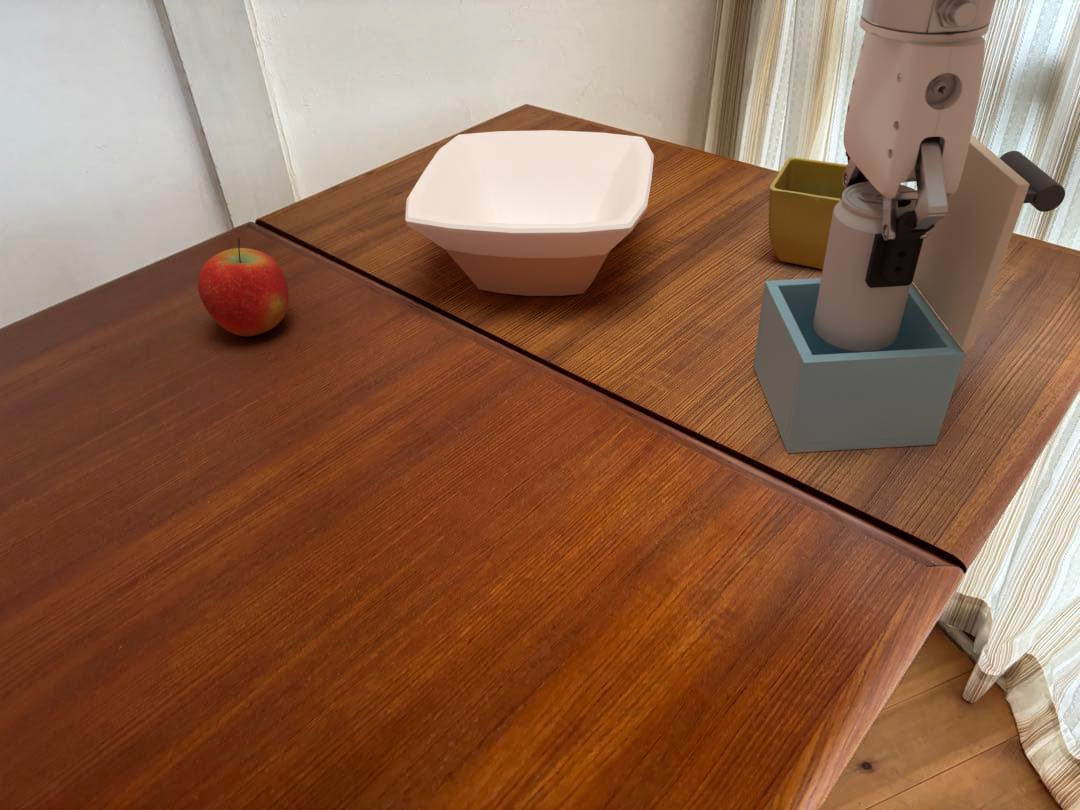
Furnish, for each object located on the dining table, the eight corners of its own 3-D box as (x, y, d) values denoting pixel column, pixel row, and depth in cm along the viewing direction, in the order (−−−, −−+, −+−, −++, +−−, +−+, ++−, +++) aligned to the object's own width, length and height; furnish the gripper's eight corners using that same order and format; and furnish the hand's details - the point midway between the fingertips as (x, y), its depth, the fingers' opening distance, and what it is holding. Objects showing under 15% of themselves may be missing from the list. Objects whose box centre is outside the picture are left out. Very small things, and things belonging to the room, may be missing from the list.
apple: (212, 318, 87) (182, 230, 81) (292, 301, 89) (268, 213, 83) (217, 360, 81) (185, 268, 75) (302, 341, 83) (277, 250, 77)
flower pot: (858, 245, 93) (874, 167, 87) (842, 283, 87) (859, 201, 81) (777, 232, 96) (788, 155, 91) (757, 267, 90) (768, 188, 84)
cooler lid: (1018, 184, 53) (1102, 180, 54) (942, 118, 63) (1014, 115, 63) (961, 348, 61) (1035, 345, 61) (901, 268, 71) (966, 265, 71)
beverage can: (894, 365, 64) (933, 220, 57) (807, 352, 66) (834, 210, 59) (896, 321, 69) (931, 182, 61) (814, 310, 71) (839, 174, 63)
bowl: (402, 322, 85) (386, 225, 78) (459, 213, 104) (449, 127, 97) (640, 334, 81) (644, 233, 75) (654, 218, 100) (657, 130, 94)
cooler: (787, 453, 67) (804, 362, 62) (752, 366, 76) (764, 280, 71) (935, 445, 67) (965, 353, 62) (883, 359, 76) (905, 272, 71)
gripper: (1061, 37, 45) (970, 320, 56) (932, -33, 59) (880, 206, 70) (921, 45, 45) (858, 326, 56) (825, -26, 59) (789, 212, 70)
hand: (870, 258), depth 63 cm, fingers closed on beverage can, 6 cm apart
